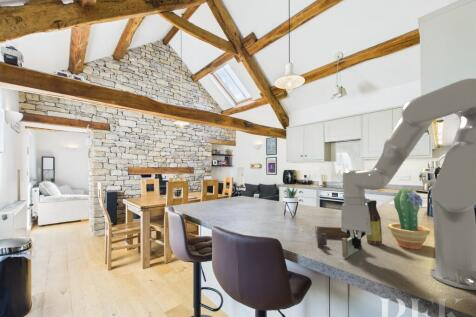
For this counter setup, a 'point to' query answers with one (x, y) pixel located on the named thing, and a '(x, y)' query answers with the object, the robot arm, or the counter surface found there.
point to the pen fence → (330, 234)
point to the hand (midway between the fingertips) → (356, 247)
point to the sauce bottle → (374, 224)
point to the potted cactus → (408, 220)
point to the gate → (348, 247)
